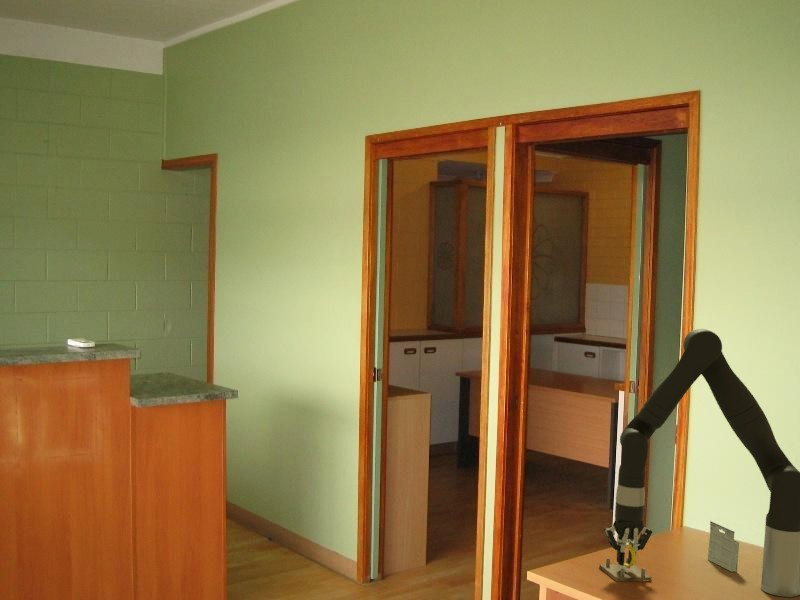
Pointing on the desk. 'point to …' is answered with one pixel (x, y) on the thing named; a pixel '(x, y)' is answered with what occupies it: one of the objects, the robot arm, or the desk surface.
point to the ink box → (723, 547)
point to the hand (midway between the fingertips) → (626, 564)
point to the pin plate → (624, 572)
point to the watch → (632, 555)
